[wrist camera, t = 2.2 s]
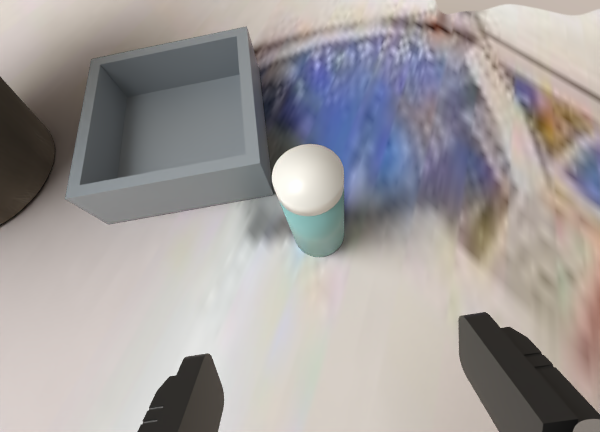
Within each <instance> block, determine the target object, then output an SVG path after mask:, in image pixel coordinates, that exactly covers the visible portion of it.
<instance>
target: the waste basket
mask: <svg viewBox="0 0 600 432" xmlns="http://www.w3.org/2000/svg"><path fill="white" fill-rule="evenodd" d="M54 154H55V147H54V142H53V139H52V136H51V134H50V133H49V131H48V130H47V128H46V127H45V126H44V125H43V124H42V123H41V122H40V121H39V119H38V118H37V117H36V116H35V115H34V114H33V113H32V112H31V110H30V109H29V108H28V107H27V106H26V105H25V104H24V103H23V102H22V100H21V99H20V98H19V97H18V96H17V95H16V94H15V93H14V91H13V90H12V89H11V88H10V87H9V86H8V85H7V84H6V83H5V81H4V80H3V79H2V78H1V77H0V225H1V224H2V223H4V222H6V221H7V220H9V219H10V218H11V217H13V216H14V215H16V214H17V213H18V212H19V211H20V210H22V209H23V208H24V207H25V206H26V205H27V204H28V203H29V202H30V201H31V200H32V199H33V198H34V197H35V195H36V194H37V193H38V192H39V190H40V189H41V187H42V186H43V184H44V183H45V181H46V179H47V177H48V175H49V173H50V170H51V168H52V165H53V161H54Z"/></svg>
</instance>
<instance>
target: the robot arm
mask: <svg viewBox="0 0 600 432" xmlns="http://www.w3.org/2000/svg"><path fill="white" fill-rule="evenodd" d="M459 356H460V361H461V365H462V368H463V370H464V373H465V375H466V376H467V378H468V380H469V382H470V383H471V385H472V387H473V388H474V390H475V392H476V393H477V395H478V397H479V398H480V400H481V402H482V404H483V405H484V407H485V409H486V410H487V412H488V414H489V415H490V417H491V419H492V420H493V422H494V424H495V425H496V427H497V429H498V430H499V432H600V414H599V413H598V412H597V411H596V410H595V409H594V408H593V407H592V406H591V405H590V404H589V403H588V402H587V401H586V399H585V398H584V397H583V396H582V395H581V394H580V393H579V392H578V391H577V390H576V389H575V388H574V387H573V386H572V384H571V383H570V382H569V381H568V380H567V379H566V378H565V377H564V376H563V375H562V374H561V373H560V372H559V371H558V370H557V368H556V367H555V368H554V367H553V364H552V363H551V362H550V361H549V360H548V359H547V358H546V357H545V356H544V355H542V354H541V351H540V350H539V349H538V348H537V347H536V346H535V345H534V344H533V343H532V342H531V341H530V340H529V339H528V338H527V337H526V336H524V335H522V334H521V333H519V332H517V331H516V330H514V329H512V328H511V327H505V328H500V327H499V326H498V324H497V323H496V322H495V321H494V320H493V319H492V318H491V316H490V315H489V314H488V313H486V312H483V313H476V314H470V315H463V316H460V317H459ZM223 406H224V393H223V388H222V385H221V382H220V379H219V376H218V373H217V370H216V368H215V365H214V362H213V359H212V357H211V355H210V354H201V355H195V356H188V357H185V358H184V359H183V361H182V364H181V366H180V368H179V371H178V373H177V375H176V376H170V377H169V378H168V379H167V380H166V381H165V382H164V383H163V385H162V386H161V387H160V388H159V389H158V390H157V392H156V394H155V396H154V398H153V400H152V402H151V405H150V407H149V411H147V413H146V415H145V417H144V419H143V424H142V425H141V426H140V428H139V430H138V432H218V429H219V424H220V420H221V416H222V412H223Z"/></svg>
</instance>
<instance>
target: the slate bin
mask: <svg viewBox="0 0 600 432" xmlns="http://www.w3.org/2000/svg"><path fill="white" fill-rule="evenodd" d="M270 195H273V186H272V177H271V168H270V159H269V150H268V141H267V132H266V124H265V115H264V106H263V97H262V88H261V79H260V70H259V67H258V63H257V60H256V57H255V53H254V50H253V46H252V43H251V39H250V36H249V33H248V29H247V27H242V28H237V29H233V30H228V31H223V32H218V33H214V34H209V35H204V36H199V37H194V38H190V39H185V40H180V41H175V42H171V43H166V44H161V45H156V46H151V47H147V48H142V49H137V50H132V51H127V52H123V53H118V54H113V55H108V56H104V57H99V58H94V59H91V64H90V69H89V74H88V80H87V85H86V90H85V95H84V101H83V106H82V111H81V117H80V122H79V127H78V133H77V138H76V143H75V149H74V154H73V159H72V165H71V170H70V175H69V180H68V186H67V191H66V196H65V199H66V200H67V201H69V202H71V203H73V204H74V205H76V206H78V207H79V208H81V209H83V210H85V211H86V212H88V213H90V214H91V215H93V216H95V217H97V218H98V219H100V220H102V221H103V222H105V223H107V224H113V223H119V222H124V221H130V220H135V219H141V218H147V217H152V216H158V215H163V214H169V213H175V212H180V211H186V210H192V209H197V208H203V207H208V206H214V205H220V204H225V203H231V202H237V201H242V200H248V199H253V198H259V197H265V196H270Z"/></svg>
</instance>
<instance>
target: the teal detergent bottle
mask: <svg viewBox="0 0 600 432" xmlns="http://www.w3.org/2000/svg"><path fill="white" fill-rule="evenodd" d="M272 183H273V187H274V189H275V192H276V194H277V197H278V199H279V202H280V204H281V206H282V209H283V211H284V214H285V216H286V219H287V221H288V224H289V226H290V229H291V231H292V233H293V236H294V238H295V241H296V243H297V245H298V247H299V248H300V249H301V250H302V251H303V252H304V253H306V254H308V255H310V256H314V257H324V256H328V255H330V254H332V253H334V252H335V251H336V250H337V249H338V248H339V247H340V246H341V244H342V242H343V239H344V169H343V165H342V162H341V160H340V159H339V157H338V156H337V155H336V154H335V153H334V152H333V151H331V150H330V149H328V148H326V147H324V146H321V145H316V144H305V145H300V146H296V147H294V148H292V149H290V150H288V151H286V152H285V153H284V154H283V155H282V156H281V157H280V158H279V159H278V160H277V162H276V164H275V166H274V168H273V172H272Z"/></svg>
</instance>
